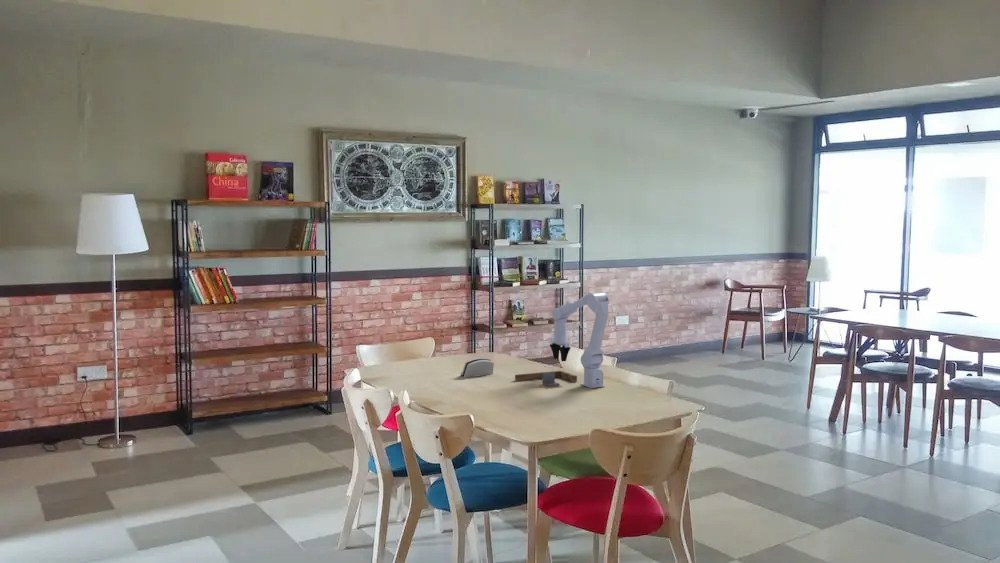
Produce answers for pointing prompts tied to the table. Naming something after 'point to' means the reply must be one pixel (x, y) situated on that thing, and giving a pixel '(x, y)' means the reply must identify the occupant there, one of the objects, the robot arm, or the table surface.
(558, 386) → the pad
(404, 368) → the table surface
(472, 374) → the grey curved-top block
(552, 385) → the bracket
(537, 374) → the brown wooden l-shape
